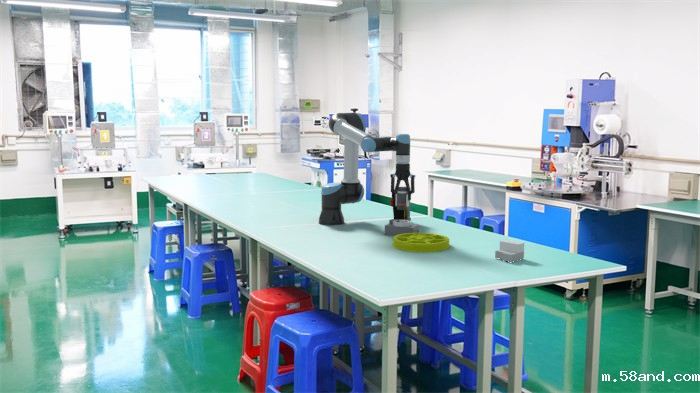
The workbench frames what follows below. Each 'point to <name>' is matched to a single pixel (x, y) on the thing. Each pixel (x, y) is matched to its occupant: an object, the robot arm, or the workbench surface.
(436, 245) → the pulley
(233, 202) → the workbench surface
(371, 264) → the workbench surface
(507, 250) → the foam block
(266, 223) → the workbench surface
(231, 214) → the workbench surface
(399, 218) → the electrical component
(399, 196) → the lens
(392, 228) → the plate with octagonal ring
